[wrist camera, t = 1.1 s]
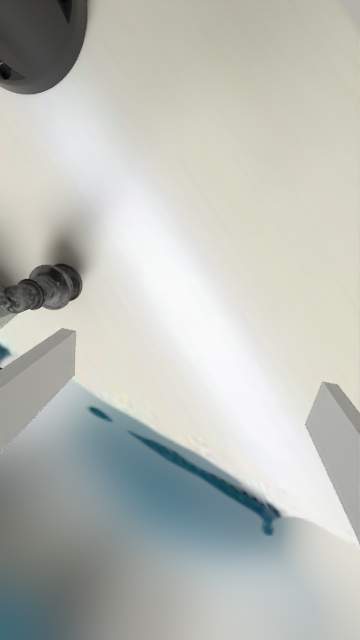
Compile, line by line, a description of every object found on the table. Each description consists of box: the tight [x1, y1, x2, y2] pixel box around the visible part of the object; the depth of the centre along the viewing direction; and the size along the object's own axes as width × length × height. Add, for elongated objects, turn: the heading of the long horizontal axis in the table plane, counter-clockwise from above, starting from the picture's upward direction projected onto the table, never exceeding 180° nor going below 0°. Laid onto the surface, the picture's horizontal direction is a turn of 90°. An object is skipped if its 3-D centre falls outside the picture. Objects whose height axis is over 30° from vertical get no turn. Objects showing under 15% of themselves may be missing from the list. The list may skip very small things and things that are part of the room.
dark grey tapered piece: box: [0, 264, 82, 314], centre depth 32 cm, size 6×6×12 cm
